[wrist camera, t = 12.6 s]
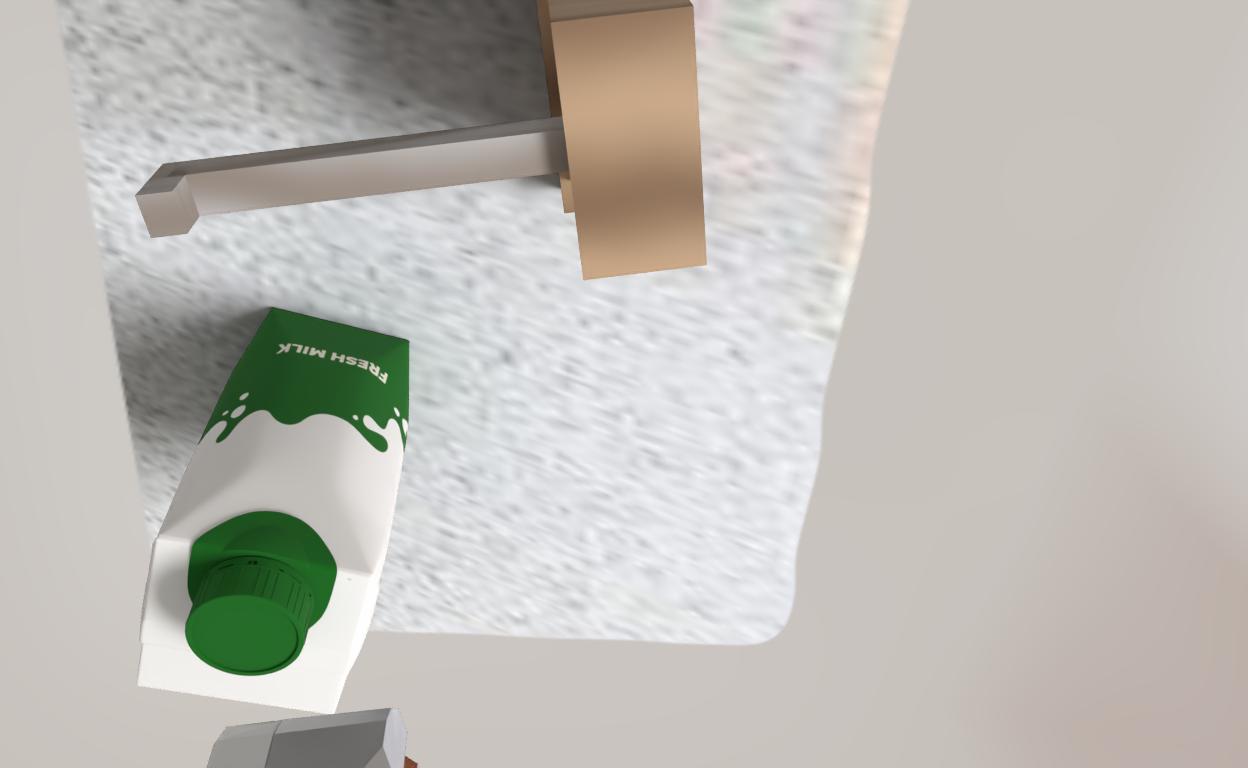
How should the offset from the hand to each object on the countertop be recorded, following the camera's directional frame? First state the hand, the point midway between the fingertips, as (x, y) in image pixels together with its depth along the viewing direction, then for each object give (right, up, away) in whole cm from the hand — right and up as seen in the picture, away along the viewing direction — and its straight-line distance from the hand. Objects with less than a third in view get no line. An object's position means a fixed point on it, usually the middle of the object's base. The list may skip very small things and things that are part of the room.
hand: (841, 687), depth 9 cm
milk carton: (-18, +3, +43) cm, 47 cm away
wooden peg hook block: (-9, +17, +35) cm, 40 cm away
